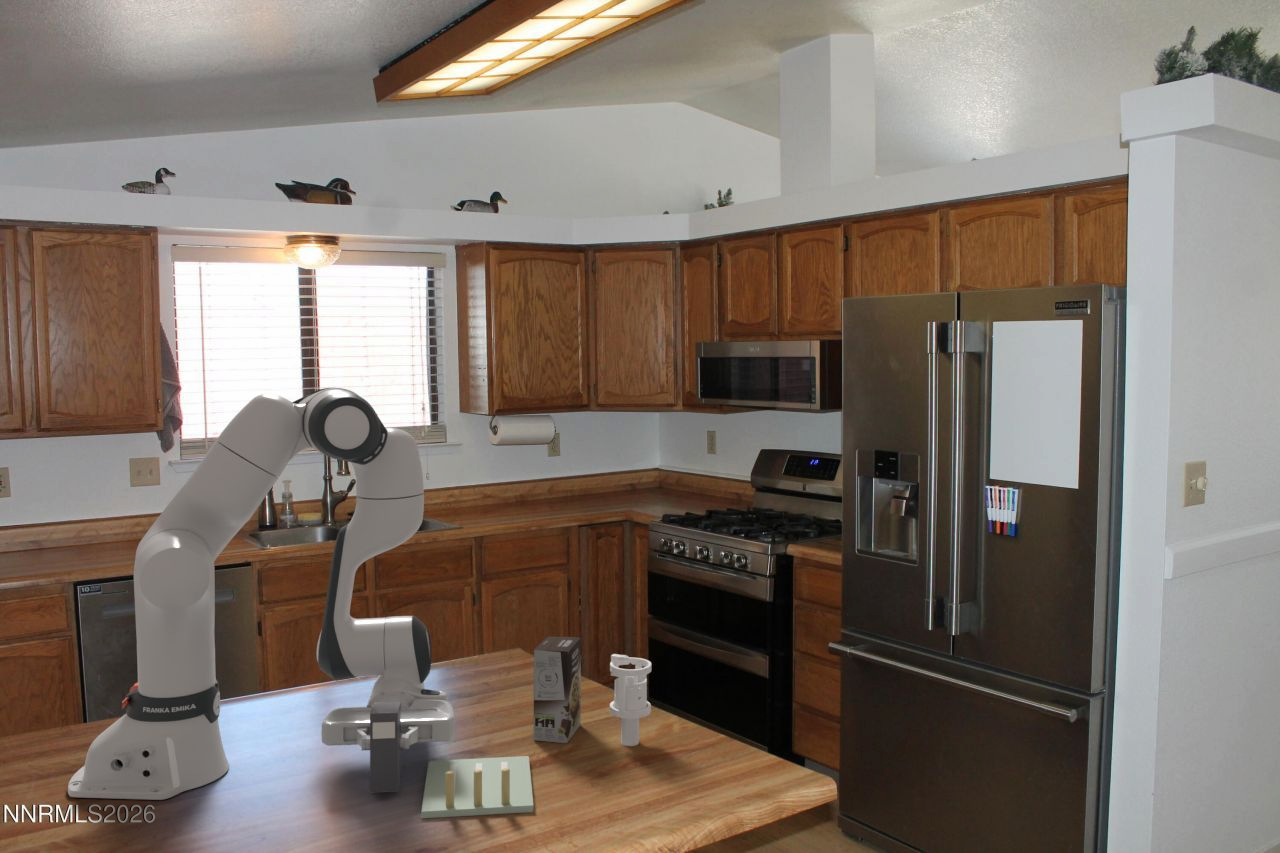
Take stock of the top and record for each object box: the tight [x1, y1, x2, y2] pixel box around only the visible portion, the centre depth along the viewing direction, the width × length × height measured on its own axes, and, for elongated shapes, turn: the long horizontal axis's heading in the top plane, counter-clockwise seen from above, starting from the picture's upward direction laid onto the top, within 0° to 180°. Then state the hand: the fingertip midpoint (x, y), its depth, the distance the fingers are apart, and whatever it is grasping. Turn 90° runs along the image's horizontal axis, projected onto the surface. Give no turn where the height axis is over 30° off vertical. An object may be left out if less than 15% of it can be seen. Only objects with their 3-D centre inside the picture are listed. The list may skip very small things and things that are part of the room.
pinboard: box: [420, 755, 534, 819], centre depth 156 cm, size 16×18×6 cm
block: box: [369, 701, 402, 794], centre depth 153 cm, size 4×5×12 cm
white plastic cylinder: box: [609, 653, 652, 747], centre depth 174 cm, size 7×7×15 cm
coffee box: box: [532, 635, 582, 744], centre depth 178 cm, size 9×6×16 cm
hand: (385, 744), depth 153 cm, fingers closed on block, 4 cm apart
